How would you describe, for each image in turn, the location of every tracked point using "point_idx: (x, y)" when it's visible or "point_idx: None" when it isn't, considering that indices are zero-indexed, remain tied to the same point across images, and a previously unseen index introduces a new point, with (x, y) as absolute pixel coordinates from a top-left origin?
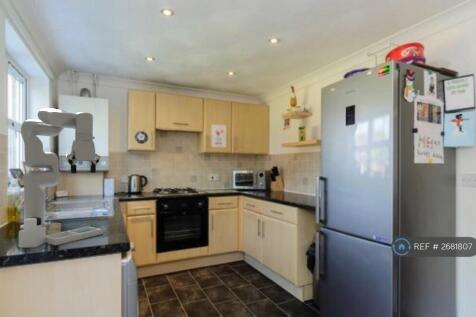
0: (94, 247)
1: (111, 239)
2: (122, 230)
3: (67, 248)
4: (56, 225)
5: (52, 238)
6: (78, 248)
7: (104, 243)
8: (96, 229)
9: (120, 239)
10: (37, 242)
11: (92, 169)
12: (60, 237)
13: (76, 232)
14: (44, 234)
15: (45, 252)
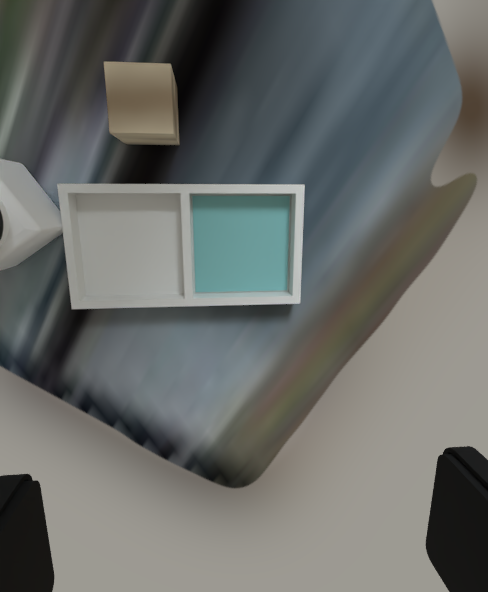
0: (153, 448)
1: (254, 407)
2: (383, 317)
3: (89, 383)
4: (147, 134)
5: (71, 280)
6: (113, 415)
7: (204, 433)
8: (292, 271)
9: (271, 434)
10: (14, 264)
11: (475, 570)
12: (146, 208)
13: (233, 194)
14: (45, 237)
15: (15, 366)
